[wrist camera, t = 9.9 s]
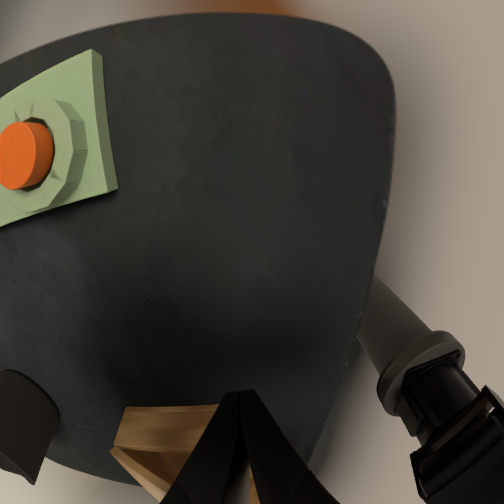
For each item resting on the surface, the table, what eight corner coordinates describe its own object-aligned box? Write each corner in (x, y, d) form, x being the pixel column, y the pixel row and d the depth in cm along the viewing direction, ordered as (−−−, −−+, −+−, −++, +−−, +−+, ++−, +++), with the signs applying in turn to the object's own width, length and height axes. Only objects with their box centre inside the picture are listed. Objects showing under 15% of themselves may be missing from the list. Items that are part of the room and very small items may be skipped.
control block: (102, 55, 13) (77, 39, 10) (119, 188, 16) (93, 197, 13) (-17, 120, 13) (-45, 121, 10) (-2, 226, 16) (-30, 239, 13)
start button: (50, 113, 11) (32, 111, 10) (58, 175, 12) (40, 179, 11) (8, 135, 11) (-10, 136, 10) (16, 192, 12) (-2, 197, 11)
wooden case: (247, 400, 22) (251, 444, 18) (267, 473, 27) (270, 504, 23) (125, 406, 22) (113, 444, 18) (177, 477, 27) (174, 507, 23)
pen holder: (2, 350, 20) (-45, 411, 10) (71, 405, 22) (38, 478, 13) (-2, 388, 22) (-36, 439, 12) (55, 432, 24) (31, 490, 15)
